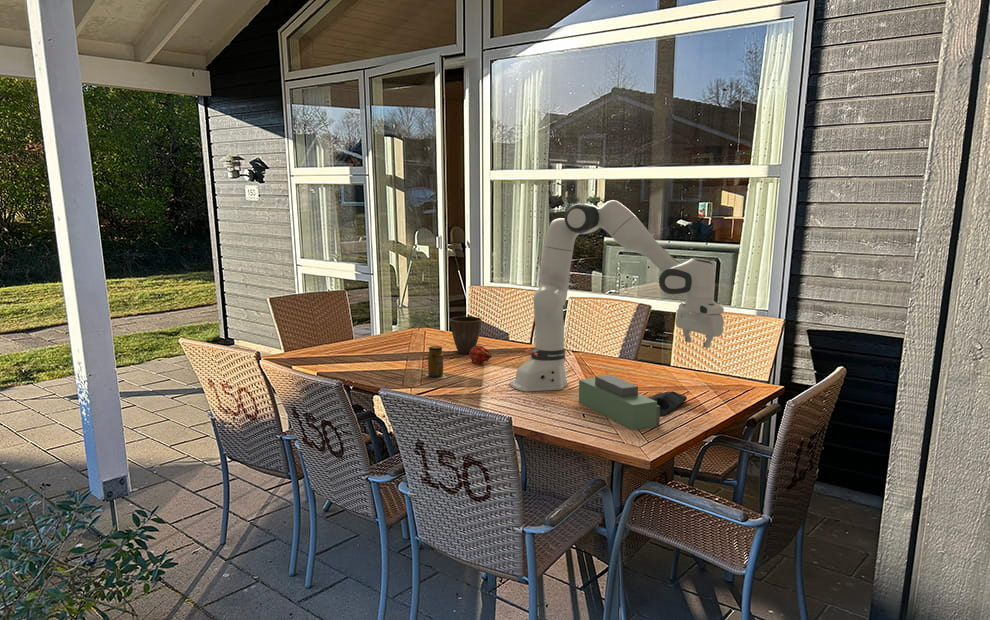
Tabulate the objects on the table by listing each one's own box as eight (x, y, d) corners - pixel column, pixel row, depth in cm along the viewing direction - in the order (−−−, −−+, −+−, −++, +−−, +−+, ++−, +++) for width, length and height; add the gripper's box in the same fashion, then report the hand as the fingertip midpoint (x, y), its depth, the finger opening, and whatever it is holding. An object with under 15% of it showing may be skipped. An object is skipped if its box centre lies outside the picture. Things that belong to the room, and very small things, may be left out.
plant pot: (463, 347, 314) (463, 315, 312) (488, 351, 306) (488, 318, 303) (443, 352, 302) (443, 319, 300) (468, 357, 294) (468, 322, 291)
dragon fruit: (471, 363, 289) (488, 372, 280) (460, 354, 283) (477, 363, 274) (482, 347, 290) (498, 355, 281) (470, 338, 284) (487, 347, 276)
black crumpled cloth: (694, 404, 224) (695, 391, 223) (661, 419, 209) (662, 404, 208) (656, 395, 235) (656, 383, 234) (621, 408, 219) (622, 395, 219)
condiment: (441, 373, 265) (441, 344, 263) (447, 378, 257) (447, 349, 255) (424, 374, 263) (424, 346, 261) (429, 379, 255) (429, 350, 253)
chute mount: (632, 430, 197) (633, 395, 195) (578, 401, 226) (579, 371, 224) (661, 425, 201) (662, 391, 199) (605, 398, 230) (606, 368, 228)
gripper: (672, 301, 229) (670, 339, 231) (712, 310, 210) (710, 351, 212) (686, 300, 231) (684, 338, 233) (727, 309, 212) (724, 349, 215)
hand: (697, 344), depth 222 cm, fingers open, 8 cm apart
